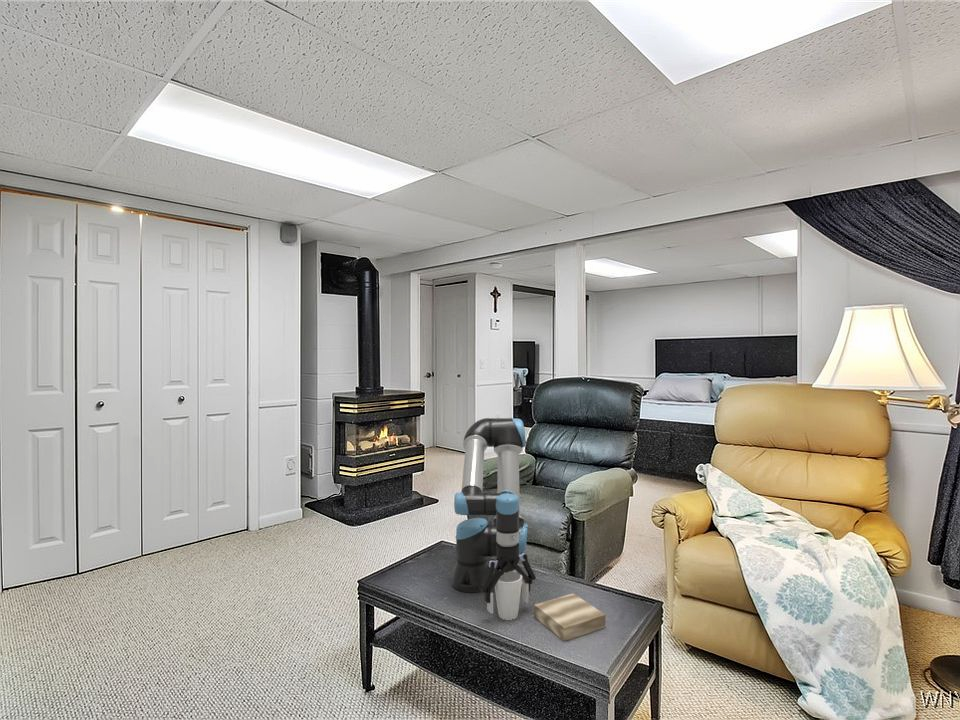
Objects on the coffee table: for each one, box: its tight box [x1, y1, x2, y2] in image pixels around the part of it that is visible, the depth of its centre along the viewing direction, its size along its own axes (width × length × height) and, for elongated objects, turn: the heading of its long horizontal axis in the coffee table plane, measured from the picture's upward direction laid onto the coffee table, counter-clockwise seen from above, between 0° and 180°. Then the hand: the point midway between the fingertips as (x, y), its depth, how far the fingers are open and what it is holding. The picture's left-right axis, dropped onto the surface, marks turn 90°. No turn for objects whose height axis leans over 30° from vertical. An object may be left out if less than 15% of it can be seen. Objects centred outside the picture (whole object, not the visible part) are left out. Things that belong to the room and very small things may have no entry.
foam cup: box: [494, 570, 523, 621], centre depth 171 cm, size 10×9×13 cm
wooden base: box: [533, 592, 606, 642], centre depth 167 cm, size 16×16×4 cm
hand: (508, 606), depth 171 cm, fingers open, 13 cm apart
